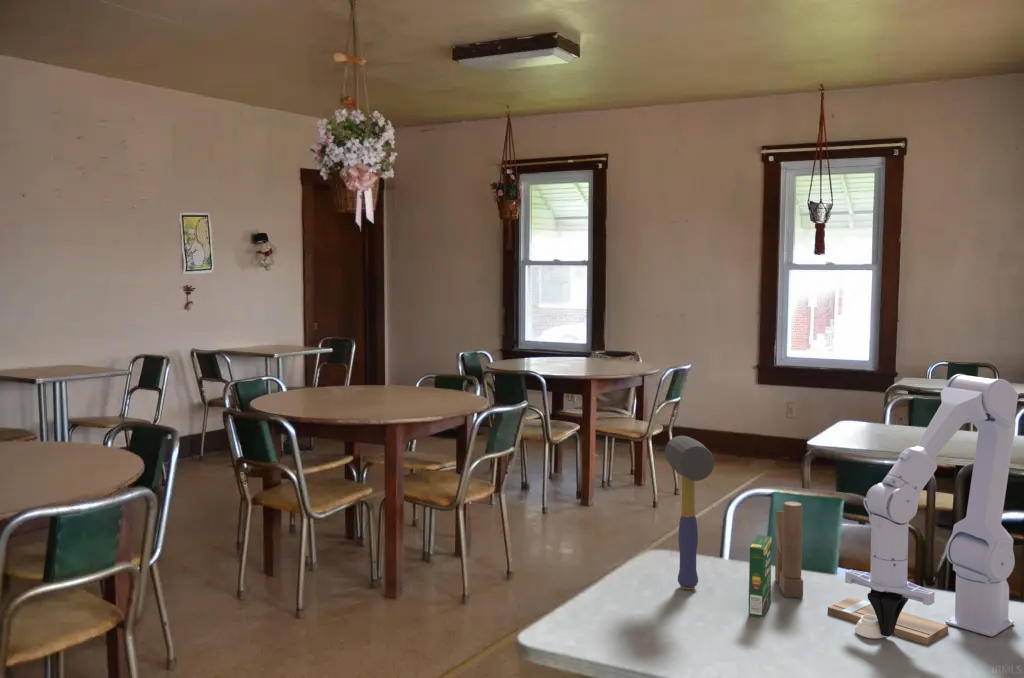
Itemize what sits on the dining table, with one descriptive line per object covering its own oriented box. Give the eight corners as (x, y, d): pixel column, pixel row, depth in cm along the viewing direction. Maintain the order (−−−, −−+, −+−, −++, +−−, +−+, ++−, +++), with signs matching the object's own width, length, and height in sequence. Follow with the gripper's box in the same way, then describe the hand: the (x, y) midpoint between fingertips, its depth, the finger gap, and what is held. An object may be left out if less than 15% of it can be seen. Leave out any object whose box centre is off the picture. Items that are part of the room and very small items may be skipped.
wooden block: (793, 579, 177) (794, 492, 176) (803, 598, 166) (804, 506, 165) (774, 579, 177) (775, 492, 176) (783, 598, 167) (784, 505, 165)
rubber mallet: (661, 578, 178) (662, 433, 176) (697, 577, 179) (698, 432, 177) (677, 600, 166) (678, 445, 164) (716, 598, 166) (717, 444, 164)
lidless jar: (853, 627, 152) (856, 638, 147) (854, 611, 152) (856, 621, 147) (884, 630, 151) (888, 642, 146) (884, 614, 150) (888, 624, 146)
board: (850, 602, 164) (850, 596, 164) (948, 632, 150) (948, 624, 150) (827, 613, 159) (827, 606, 159) (926, 644, 145) (926, 637, 145)
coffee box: (763, 619, 156) (764, 547, 155) (747, 616, 157) (748, 545, 157) (771, 604, 163) (772, 535, 162) (756, 601, 165) (757, 533, 164)
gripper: (836, 550, 149) (835, 627, 150) (921, 571, 138) (919, 654, 139) (857, 542, 153) (856, 617, 154) (941, 562, 142) (939, 642, 143)
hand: (887, 634), depth 147 cm, fingers closed
